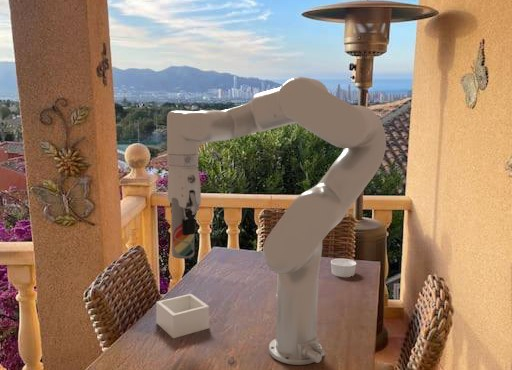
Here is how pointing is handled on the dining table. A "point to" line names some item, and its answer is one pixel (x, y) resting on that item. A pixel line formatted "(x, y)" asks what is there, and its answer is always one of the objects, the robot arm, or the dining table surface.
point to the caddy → (182, 315)
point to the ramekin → (343, 267)
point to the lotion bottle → (180, 234)
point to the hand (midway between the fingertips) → (183, 231)
